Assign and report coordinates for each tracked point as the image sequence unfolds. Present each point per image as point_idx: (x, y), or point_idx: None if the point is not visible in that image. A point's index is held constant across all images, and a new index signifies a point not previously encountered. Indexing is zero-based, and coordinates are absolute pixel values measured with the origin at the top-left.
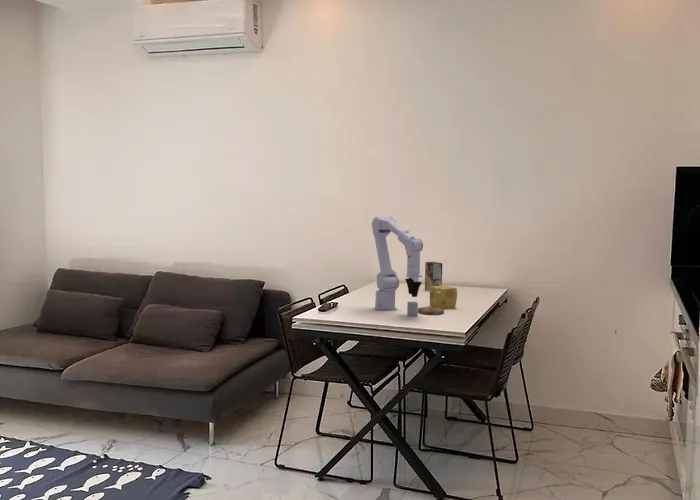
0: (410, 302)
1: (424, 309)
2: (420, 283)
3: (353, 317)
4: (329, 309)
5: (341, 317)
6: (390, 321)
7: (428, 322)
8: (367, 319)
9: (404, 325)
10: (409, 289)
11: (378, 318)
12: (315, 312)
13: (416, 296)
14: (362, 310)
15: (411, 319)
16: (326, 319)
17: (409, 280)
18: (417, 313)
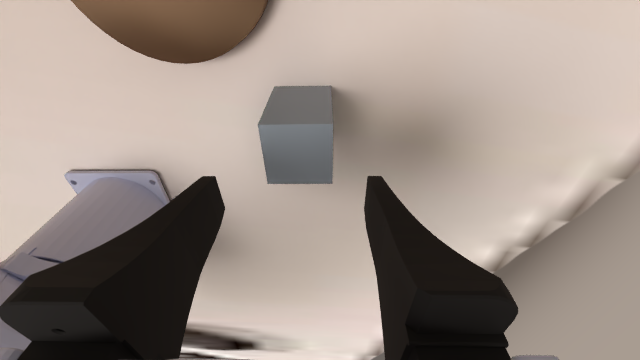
0: (294, 169)
1: (178, 9)
2: (503, 291)
3: (345, 304)
4: (218, 335)
5: (343, 324)
6: (442, 225)
7: (545, 48)
8: None
9: (552, 188)
10: (208, 241)
11: (371, 253)
12: (271, 354)
13: (383, 181)
14: (210, 279)
15: (420, 136)
16: (368, 345)
17: (162, 342)
18: (331, 93)
